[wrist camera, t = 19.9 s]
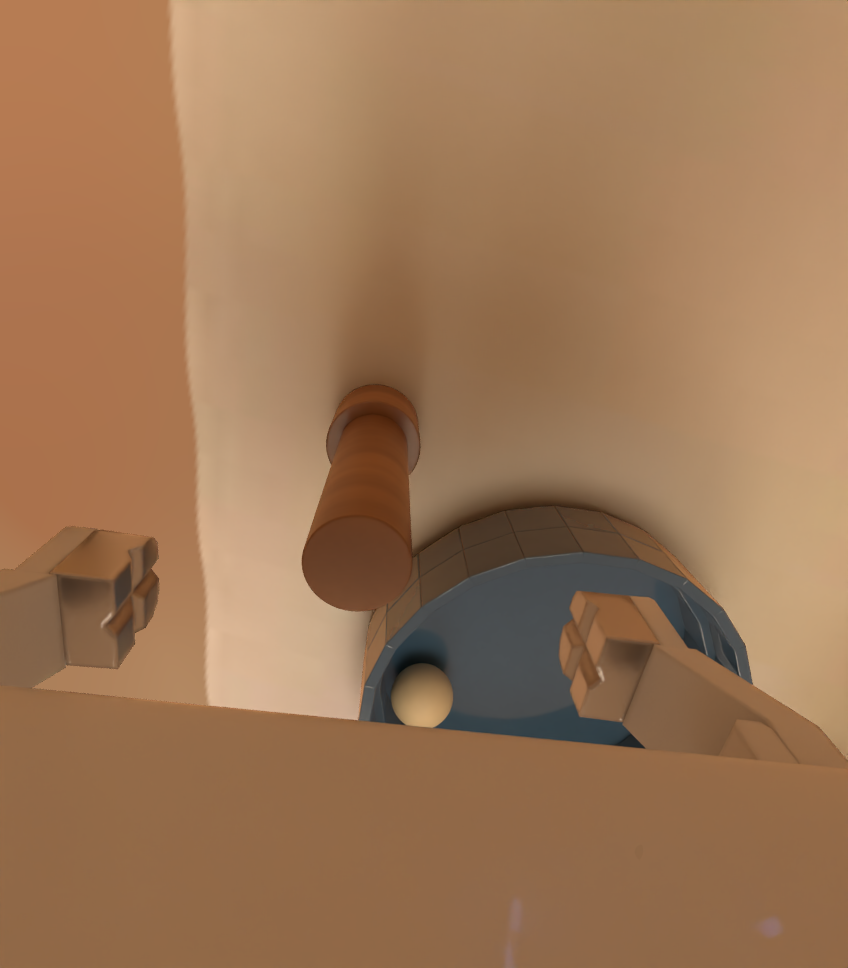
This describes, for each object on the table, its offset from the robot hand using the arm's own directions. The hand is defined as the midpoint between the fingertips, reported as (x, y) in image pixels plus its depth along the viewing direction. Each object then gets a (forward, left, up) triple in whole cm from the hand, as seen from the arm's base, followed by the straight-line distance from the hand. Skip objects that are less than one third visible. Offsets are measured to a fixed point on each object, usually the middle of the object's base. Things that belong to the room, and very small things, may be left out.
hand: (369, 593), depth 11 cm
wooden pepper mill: (+1, 0, -14) cm, 14 cm away
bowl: (+11, +9, -14) cm, 20 cm away
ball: (+13, +4, -12) cm, 18 cm away
